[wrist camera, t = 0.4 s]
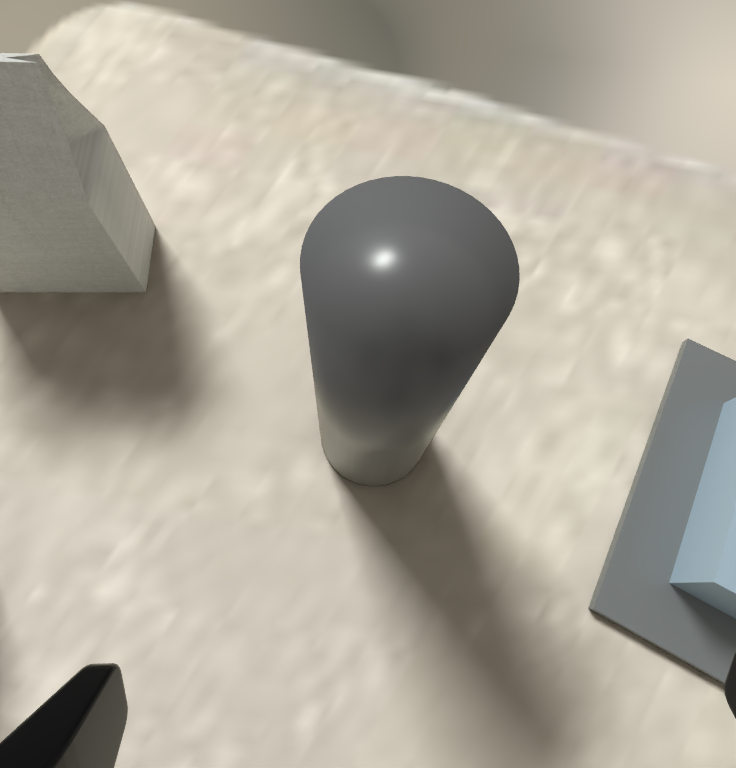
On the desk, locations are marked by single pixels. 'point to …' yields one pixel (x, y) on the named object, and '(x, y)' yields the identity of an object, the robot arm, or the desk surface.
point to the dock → (682, 522)
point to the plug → (399, 316)
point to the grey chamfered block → (64, 192)
